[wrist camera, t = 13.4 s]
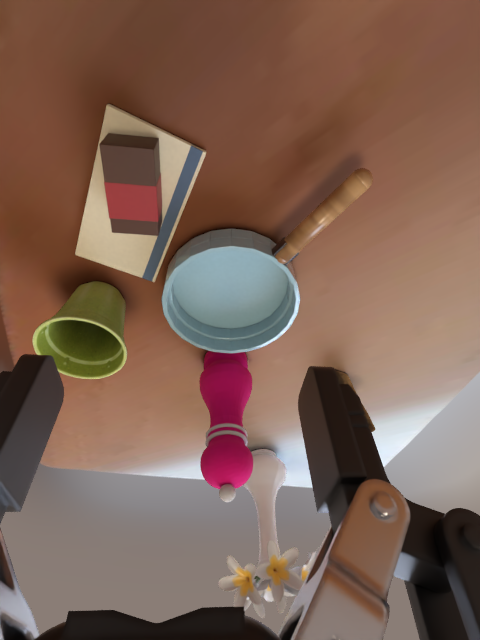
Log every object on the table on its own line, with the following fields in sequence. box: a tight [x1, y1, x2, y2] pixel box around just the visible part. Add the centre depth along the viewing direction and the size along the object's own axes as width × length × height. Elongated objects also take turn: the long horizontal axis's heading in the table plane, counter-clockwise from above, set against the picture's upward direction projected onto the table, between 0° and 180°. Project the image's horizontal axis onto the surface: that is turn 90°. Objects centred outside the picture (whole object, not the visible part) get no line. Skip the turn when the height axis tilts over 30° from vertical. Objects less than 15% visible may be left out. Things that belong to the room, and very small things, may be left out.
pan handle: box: [271, 168, 373, 266], centre depth 35 cm, size 12×2×2 cm, turn 139°
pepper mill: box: [200, 351, 253, 502], centre depth 45 cm, size 7×7×20 cm
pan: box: [162, 228, 300, 353], centre depth 42 cm, size 15×16×4 cm
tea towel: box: [75, 104, 206, 282], centre depth 37 cm, size 16×9×1 cm, turn 154°
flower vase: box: [218, 449, 321, 618], centre depth 63 cm, size 13×18×25 cm
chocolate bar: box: [99, 133, 162, 236], centre depth 33 cm, size 8×4×3 cm, turn 174°
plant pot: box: [33, 281, 127, 379], centre depth 42 cm, size 9×9×9 cm
